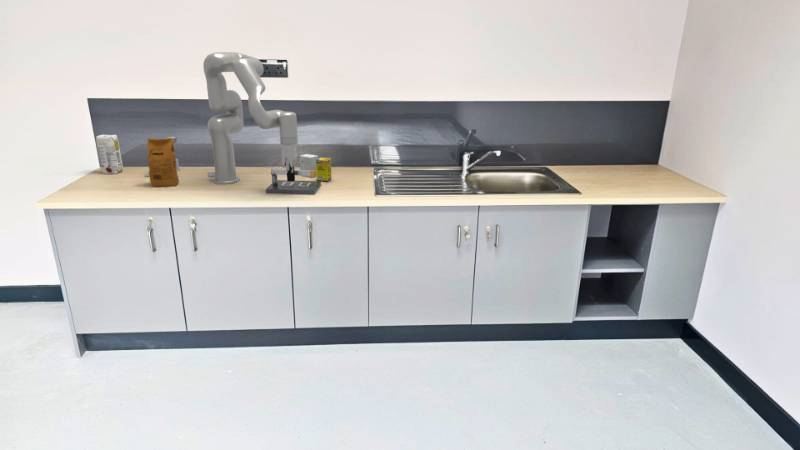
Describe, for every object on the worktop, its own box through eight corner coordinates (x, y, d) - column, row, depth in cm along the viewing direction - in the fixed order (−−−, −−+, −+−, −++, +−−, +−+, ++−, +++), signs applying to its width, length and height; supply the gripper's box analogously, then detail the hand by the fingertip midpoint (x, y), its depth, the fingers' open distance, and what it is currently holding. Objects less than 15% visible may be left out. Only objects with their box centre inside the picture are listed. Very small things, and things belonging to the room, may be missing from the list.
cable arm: (270, 175, 229) (269, 170, 228) (272, 173, 232) (271, 168, 231) (314, 176, 229) (314, 171, 228) (315, 174, 232) (315, 169, 231)
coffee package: (154, 181, 240) (147, 136, 232) (181, 181, 242) (175, 136, 234) (147, 187, 231) (140, 140, 223) (176, 186, 232) (169, 139, 225)
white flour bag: (117, 174, 251) (110, 136, 245) (100, 174, 251) (93, 136, 245) (125, 171, 258) (119, 134, 252) (108, 170, 258) (102, 133, 252)
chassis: (266, 193, 225) (265, 179, 223) (275, 184, 241) (274, 170, 238) (314, 194, 225) (314, 180, 223) (321, 185, 240) (320, 172, 238)
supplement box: (328, 182, 245) (327, 160, 241) (316, 181, 246) (315, 159, 243) (331, 179, 251) (331, 158, 247) (320, 178, 252) (319, 157, 248)
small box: (319, 175, 257) (318, 155, 254) (312, 177, 253) (311, 157, 249) (307, 173, 261) (306, 153, 258) (300, 175, 257) (299, 155, 253)
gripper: (284, 137, 227) (287, 176, 233) (275, 143, 213) (278, 185, 219) (301, 137, 227) (303, 177, 233) (293, 144, 213) (295, 185, 219)
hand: (291, 180), depth 226 cm, fingers closed
